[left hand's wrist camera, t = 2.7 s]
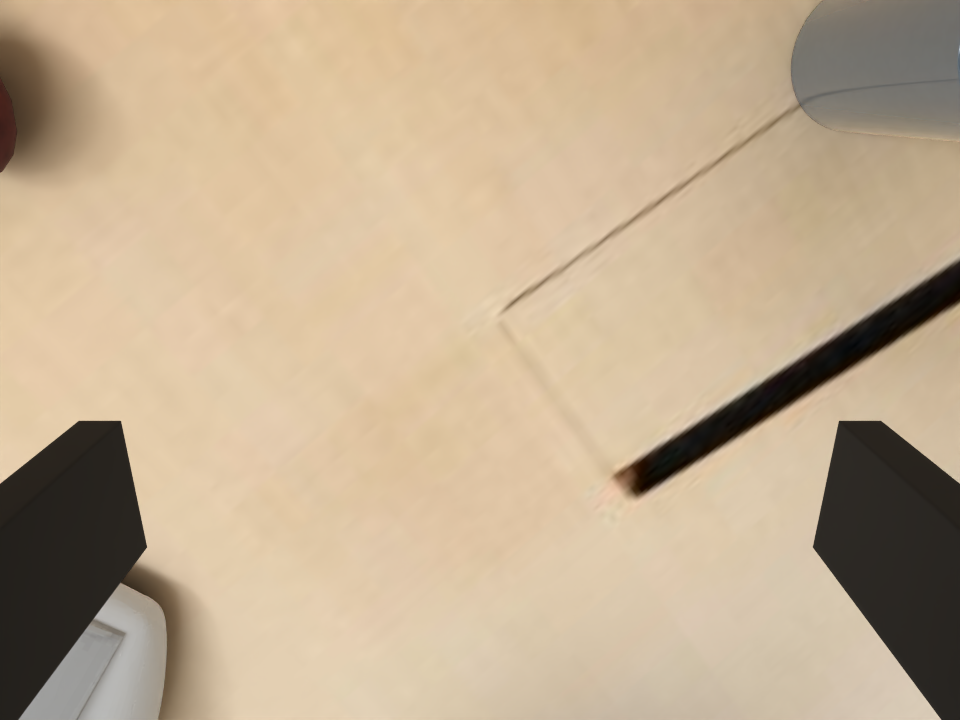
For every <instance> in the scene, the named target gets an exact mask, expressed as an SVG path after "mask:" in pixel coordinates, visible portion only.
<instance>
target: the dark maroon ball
mask: <svg viewBox="0 0 960 720" xmlns="http://www.w3.org/2000/svg"><path fill="white" fill-rule="evenodd" d="M16 134H17V129H16V124H15V118H14V112H13V107H12V102H11V99H10V97H9V95H8V93H7V90H6V88H5V86H4V84H3V82H2V80H1V78H0V172H2V171H3V170H4V168H5V166H6V165H7V163H8V162H9V160H10V159H11V157H12V156H13V153H14V147H15V141H16Z"/></svg>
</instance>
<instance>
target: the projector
mask: <svg viewBox="0 0 960 720" xmlns="http://www.w3.org/2000/svg"><path fill="white" fill-rule="evenodd" d="M166 656H167V632H166V620H165V616H164V613H163V610H162V608H161V607H160V606H159V604H158V603H157V602H155V601H154V600H153V599H151V598H150V597H148V596H146V595H143V594H141V593H139V592H137V591H136V590H134V589H132V588H130V587H128V586H126V585H124V584H122V583H120V584H119V586H118V587H117V588H116V590H115V591H114V592H113V594H112V595H111V596H110V598H109V599H108V600H107V602H106V603H105V604H104V606H103V607H102V608H101V610H100V611H99V612H98V614H97V615H96V616H95V618H94V619H93V620H92V622H91V623H90V624H89V626H88V627H87V628H86V630H85V631H84V632H83V634H82V635H81V637H80V638H79V639H78V641H77V642H76V643H75V645H74V646H73V647H72V649H71V650H70V651H69V653H68V654H67V655H66V657H65V658H64V659H63V661H62V662H61V663H60V665H59V666H58V667H57V669H56V670H55V671H54V673H53V674H52V675H51V677H50V678H49V679H48V681H47V682H46V683H45V685H44V686H43V688H42V689H41V690H40V692H39V693H38V694H37V696H36V697H35V698H34V700H33V701H32V702H31V704H30V705H29V706H28V708H27V709H26V710H25V712H24V713H23V714H22V716H21V717H20V718H19V720H158V717H159V712H160V708H161V702H162V696H163V689H164V681H165V671H166Z"/></svg>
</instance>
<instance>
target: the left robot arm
mask: <svg viewBox="0 0 960 720" xmlns="http://www.w3.org/2000/svg"><path fill="white" fill-rule="evenodd" d="M146 548H147V545H146V540H145V535H144V530H143V525H142V521H141V516H140V511H139V506H138V501H137V496H136V492H135V487H134V482H133V477H132V472H131V467H130V463H129V458H128V453H127V448H126V443H125V438H124V434H123V429H122V424H121V421H78V422H77V423H76V424H75V425H73V426H72V427H71V428H70V429H68V430H67V431H66V432H65V433H63V434H62V435H61V436H60V437H58V438H57V439H56V440H55V441H53V442H52V443H51V444H49V445H48V446H47V447H46V448H44V449H43V450H42V451H41V452H39V453H38V454H37V455H36V456H34V457H33V458H32V459H31V460H29V461H28V462H27V463H26V464H24V465H23V466H22V467H21V468H19V469H18V470H17V471H16V472H14V473H13V474H12V475H11V476H9V477H8V478H7V479H6V480H4V481H3V482H2V483H1V484H0V720H19V718H20V717H21V716H22V714H23V713H24V712H25V710H26V709H27V708H28V706H29V705H30V704H31V702H32V701H33V700H34V698H35V697H36V696H37V694H38V693H39V692H40V690H41V689H42V688H43V686H44V685H45V683H46V682H47V681H48V679H49V678H50V677H51V675H52V674H53V673H54V671H55V670H56V669H57V667H58V666H59V665H60V663H61V662H62V661H63V659H64V658H65V657H66V655H67V654H68V653H69V651H70V650H71V649H72V647H73V646H74V645H75V643H76V642H77V641H78V639H79V638H80V637H81V635H82V634H83V632H84V631H85V630H86V628H87V627H88V626H89V624H90V623H91V622H92V620H93V619H94V618H95V616H96V615H97V614H98V612H99V611H100V610H101V608H102V607H103V606H104V604H105V603H106V602H107V600H108V599H109V598H110V596H111V595H112V594H113V592H114V591H115V590H116V588H117V587H118V586H119V584H120V583H121V582H122V580H123V579H124V577H125V576H126V575H127V573H128V572H129V571H130V569H131V568H132V567H133V565H134V564H135V563H136V561H137V560H138V559H139V557H140V556H141V555H142V553H143V552H144V551H145V549H146ZM813 548H814V549H815V551H816V552H817V553H818V555H819V556H820V557H821V559H822V560H823V561H824V563H825V564H826V565H827V567H828V568H829V569H830V571H831V572H832V573H833V575H834V576H835V577H836V579H837V580H838V582H839V583H840V584H841V586H842V587H843V588H844V590H845V591H846V592H847V594H848V595H849V596H850V598H851V599H852V600H853V602H854V603H855V604H856V606H857V607H858V608H859V610H860V611H861V612H862V614H863V615H864V616H865V618H866V619H867V620H868V622H869V623H870V624H871V626H872V627H873V628H874V630H875V631H876V633H877V634H878V635H879V637H880V638H881V639H882V641H883V642H884V643H885V645H886V646H887V647H888V649H889V650H890V651H891V653H892V654H893V655H894V657H895V658H896V659H897V661H898V662H899V663H900V665H901V666H902V667H903V669H904V670H905V671H906V673H907V674H908V675H909V677H910V678H911V679H912V681H913V682H914V683H915V685H916V686H917V688H918V689H919V690H920V692H921V693H922V694H923V696H924V697H925V698H926V700H927V701H928V702H929V704H930V705H931V706H932V708H933V709H934V710H935V712H936V713H937V714H938V716H939V717H940V718H941V720H960V484H959V483H958V482H957V481H956V480H954V479H953V478H952V477H951V476H949V475H948V474H947V473H946V472H944V471H943V470H942V469H941V468H939V467H938V466H937V465H936V464H934V463H933V462H932V461H931V460H929V459H928V458H927V457H926V456H924V455H923V454H922V453H921V452H919V451H918V450H917V449H916V448H914V447H913V446H912V445H911V444H909V443H908V442H907V441H905V440H904V439H903V438H902V437H900V436H899V435H898V434H897V433H895V432H894V431H893V430H892V429H890V428H889V427H888V426H887V425H885V424H884V423H883V422H882V421H839V424H838V429H837V434H836V438H835V443H834V448H833V453H832V458H831V463H830V467H829V472H828V477H827V482H826V487H825V492H824V496H823V501H822V506H821V511H820V516H819V521H818V525H817V530H816V535H815V540H814V545H813Z"/></svg>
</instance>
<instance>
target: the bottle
mask: <svg viewBox="0 0 960 720" xmlns="http://www.w3.org/2000/svg"><path fill="white" fill-rule="evenodd" d="M791 76H792V84H793V89H794V92H795V95H796V97H797V100H798V101H799V103H800V105H801V107H802V108H803V110H804V111H805V112H806V113H807V114H808V115H809V116H810V117H811V118H812V119H813V120H814V121H816V122H817V123H818V124H820V125H822V126H824V127H826V128H829V129H832V130H835V131H841V132H851V133H863V134H874V135H886V136H898V137H909V138H921V139H933V140H944V141H956V142H960V0H823V1H822V2H821V3H820V4H819V5H818V6H817V7H816V8H815V9H814V10H813V12H812V13H811V14H810V16H809V17H808V19H807V20H806V21H805V23H804V25H803V27H802V29H801V30H800V33H799V35H798V38H797V40H796V43H795V47H794V50H793V56H792V63H791Z"/></svg>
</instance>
